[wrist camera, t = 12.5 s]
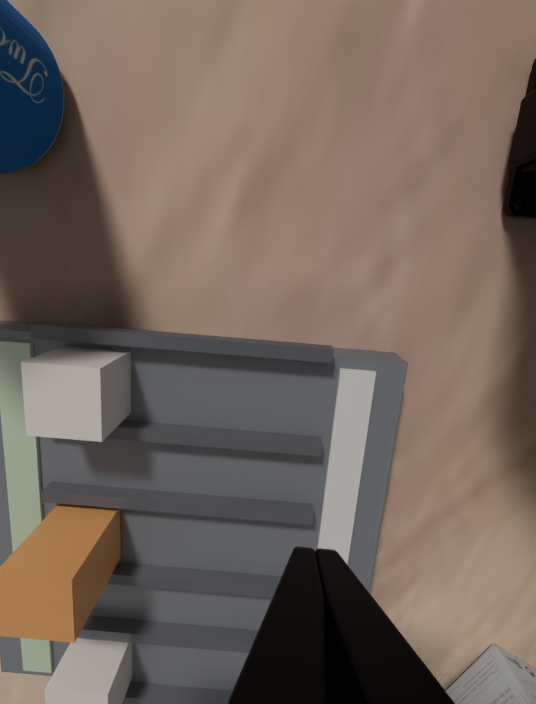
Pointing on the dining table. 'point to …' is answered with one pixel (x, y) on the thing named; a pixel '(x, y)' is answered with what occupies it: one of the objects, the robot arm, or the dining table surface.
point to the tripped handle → (59, 573)
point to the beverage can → (26, 93)
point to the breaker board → (187, 489)
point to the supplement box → (495, 680)
